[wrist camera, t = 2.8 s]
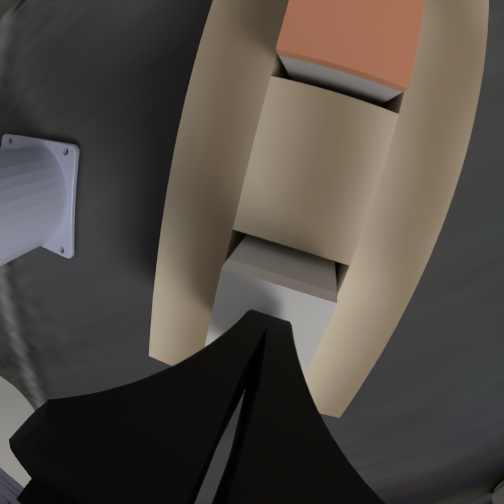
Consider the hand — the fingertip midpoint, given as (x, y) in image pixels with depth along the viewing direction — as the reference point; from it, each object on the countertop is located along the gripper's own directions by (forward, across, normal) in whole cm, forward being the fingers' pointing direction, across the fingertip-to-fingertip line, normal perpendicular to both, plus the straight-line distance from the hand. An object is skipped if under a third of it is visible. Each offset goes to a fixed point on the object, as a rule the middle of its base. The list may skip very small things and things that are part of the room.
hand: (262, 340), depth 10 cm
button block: (+8, 0, -5) cm, 9 cm away
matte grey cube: (+5, 0, 0) cm, 5 cm away
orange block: (+5, 0, -10) cm, 11 cm away
